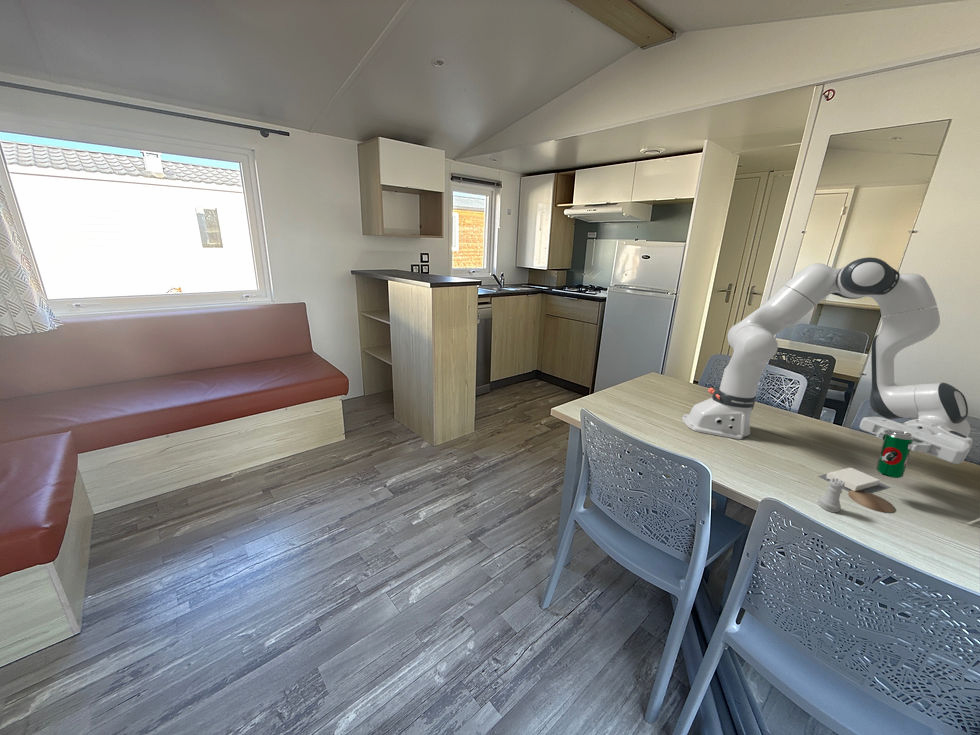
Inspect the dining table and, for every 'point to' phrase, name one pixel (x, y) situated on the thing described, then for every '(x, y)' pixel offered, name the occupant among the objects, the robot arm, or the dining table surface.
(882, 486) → the rubber mat
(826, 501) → the rook chess piece
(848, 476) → the glazed tile
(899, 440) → the soda can
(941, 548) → the dining table surface
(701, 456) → the dining table surface
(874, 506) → the coaster
